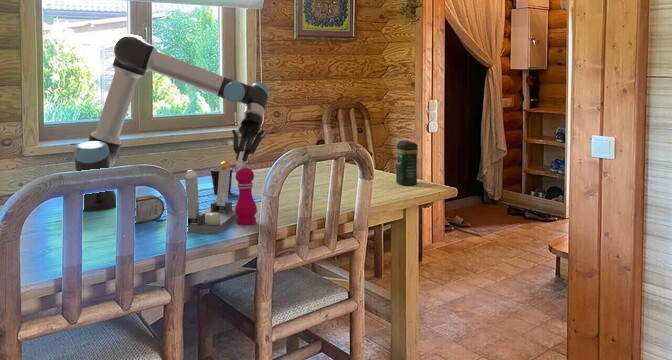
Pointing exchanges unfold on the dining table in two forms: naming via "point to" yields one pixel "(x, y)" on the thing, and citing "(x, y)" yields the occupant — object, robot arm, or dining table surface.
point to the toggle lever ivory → (192, 195)
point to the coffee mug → (216, 177)
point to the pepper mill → (245, 197)
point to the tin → (148, 208)
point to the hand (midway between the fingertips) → (239, 168)
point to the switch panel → (201, 226)
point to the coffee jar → (406, 163)
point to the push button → (212, 218)
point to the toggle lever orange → (223, 186)
